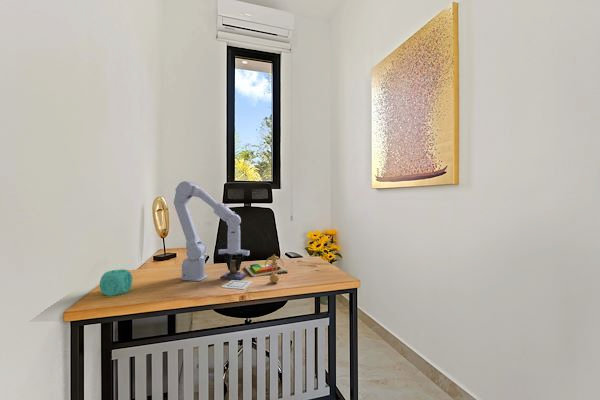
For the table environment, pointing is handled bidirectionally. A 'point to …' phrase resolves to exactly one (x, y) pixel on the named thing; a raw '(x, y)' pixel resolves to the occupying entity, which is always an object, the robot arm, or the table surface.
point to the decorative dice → (116, 282)
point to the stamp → (233, 269)
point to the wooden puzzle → (264, 269)
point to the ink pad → (239, 277)
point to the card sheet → (237, 284)
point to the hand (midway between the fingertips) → (233, 270)
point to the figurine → (275, 277)
